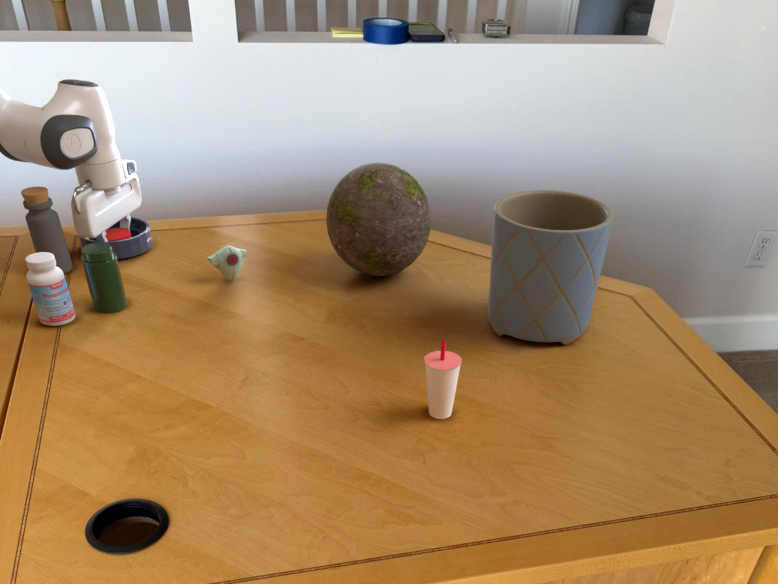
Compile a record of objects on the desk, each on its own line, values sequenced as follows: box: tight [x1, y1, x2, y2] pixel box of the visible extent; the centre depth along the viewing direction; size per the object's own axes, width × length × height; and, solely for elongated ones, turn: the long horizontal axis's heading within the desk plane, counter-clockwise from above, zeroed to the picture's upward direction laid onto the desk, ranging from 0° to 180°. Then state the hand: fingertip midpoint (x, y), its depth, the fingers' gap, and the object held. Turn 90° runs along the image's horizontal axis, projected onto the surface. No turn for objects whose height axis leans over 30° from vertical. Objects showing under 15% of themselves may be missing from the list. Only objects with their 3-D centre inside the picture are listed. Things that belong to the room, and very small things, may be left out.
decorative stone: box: [325, 162, 432, 277], centre depth 147 cm, size 20×20×20 cm
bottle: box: [20, 186, 74, 274], centre depth 147 cm, size 6×6×15 cm
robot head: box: [206, 245, 248, 280], centre depth 148 cm, size 8×4×7 cm, turn 121°
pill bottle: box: [24, 252, 76, 327], centre depth 133 cm, size 6×6×11 cm
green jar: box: [80, 243, 129, 314], centre depth 138 cm, size 6×6×11 cm
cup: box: [424, 339, 463, 420], centre depth 112 cm, size 5×5×12 cm
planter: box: [487, 189, 614, 346], centre depth 131 cm, size 19×19×20 cm
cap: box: [105, 228, 132, 241], centre depth 159 cm, size 6×6×2 cm
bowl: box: [76, 216, 154, 260], centre depth 159 cm, size 14×14×4 cm
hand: (116, 243), depth 160 cm, fingers closed on cap, 6 cm apart
